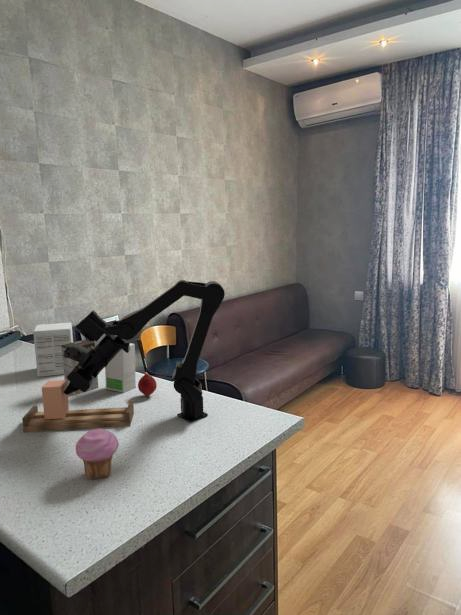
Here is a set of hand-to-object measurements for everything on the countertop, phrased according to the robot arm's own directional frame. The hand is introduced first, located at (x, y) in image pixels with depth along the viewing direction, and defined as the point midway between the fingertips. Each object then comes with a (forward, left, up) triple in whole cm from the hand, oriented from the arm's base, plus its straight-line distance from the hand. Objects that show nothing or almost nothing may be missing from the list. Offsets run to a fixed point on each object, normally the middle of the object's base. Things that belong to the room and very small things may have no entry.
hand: (65, 393), depth 124 cm
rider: (+2, +2, -7) cm, 7 cm away
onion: (+2, -27, -9) cm, 29 cm away
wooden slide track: (-2, -3, -9) cm, 9 cm away
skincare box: (+15, -25, -9) cm, 31 cm away
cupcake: (-31, +7, -9) cm, 33 cm away
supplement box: (+52, -18, -9) cm, 56 cm away
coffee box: (+24, -15, -9) cm, 30 cm away
